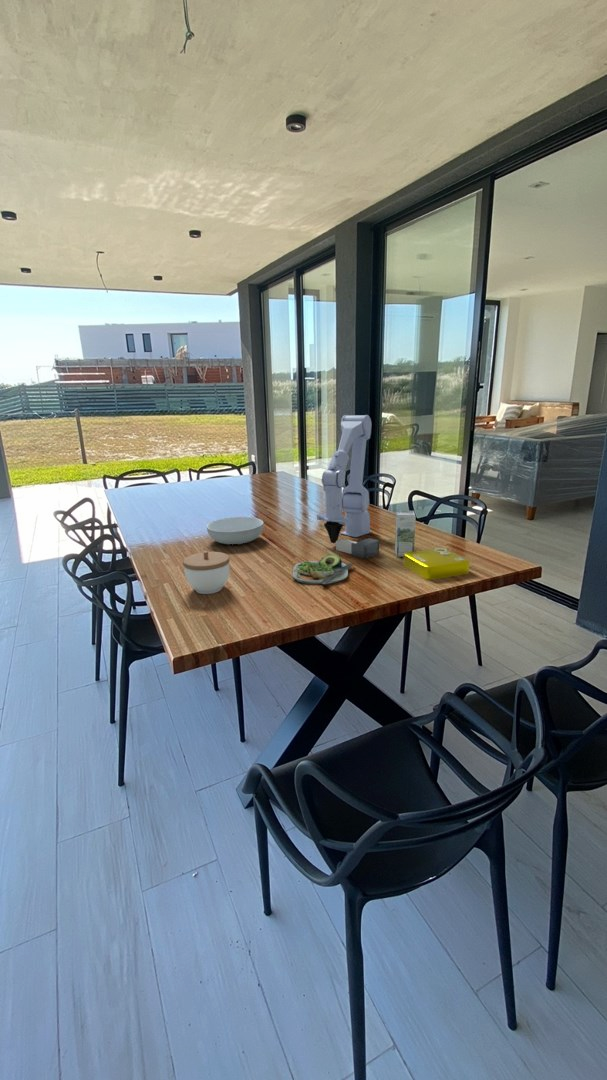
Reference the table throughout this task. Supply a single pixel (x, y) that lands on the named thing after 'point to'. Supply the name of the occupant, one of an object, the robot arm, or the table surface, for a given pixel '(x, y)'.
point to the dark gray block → (365, 548)
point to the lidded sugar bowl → (207, 571)
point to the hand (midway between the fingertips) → (334, 542)
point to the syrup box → (404, 532)
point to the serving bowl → (235, 530)
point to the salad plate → (322, 570)
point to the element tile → (436, 563)
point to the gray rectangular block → (344, 545)
